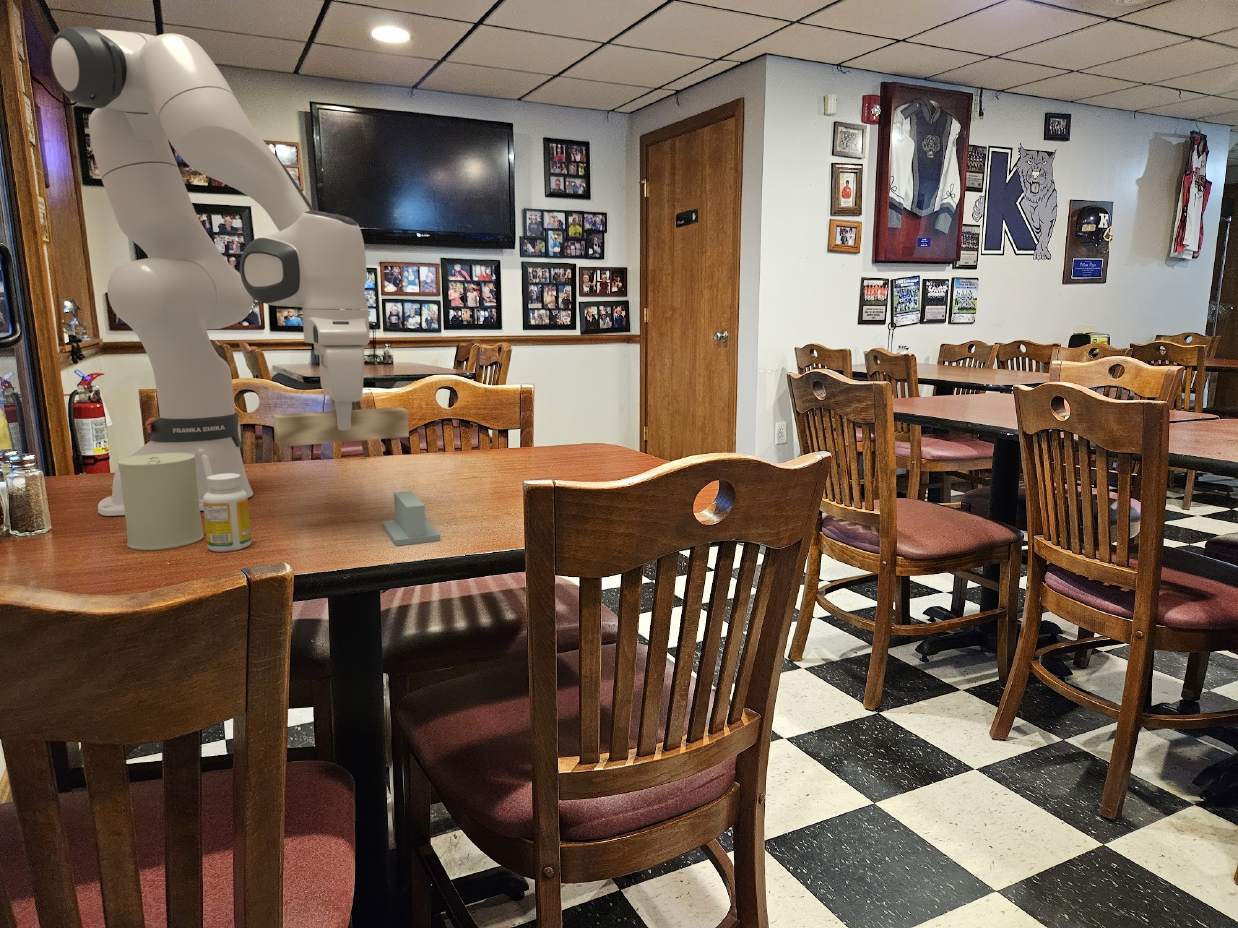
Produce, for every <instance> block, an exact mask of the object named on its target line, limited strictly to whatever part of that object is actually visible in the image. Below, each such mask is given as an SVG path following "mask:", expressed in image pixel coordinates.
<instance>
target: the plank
mask: <svg viewBox="0 0 1238 928" xmlns="http://www.w3.org/2000/svg"><path fill="white" fill-rule="evenodd" d="M336 417H337V414H336V411H332V410H328V411H315V412H314V411H312V412H311V411H310V412H295V413H278V414H273V415H272V418H273V431H274V432H273V433H274V443H275V444H276V445H277V446H278V447H280V448H281V447H283V448H284V447H293V446H294V447H295V446H305V445H307V446H309V445H317V444H319V445H320V444H333V443H344V442H348V443H349V442H359V441H371V440H373V441H374V440H384V439H385V440H386V439H396V438H409V437H410V431H409V411H408V409H405V408H404V407H402V406H397V407H395V406H394V407H380V408H367V409H366V408H364V409H363V408H362V409H352V412H351V429H350V430H339V429H338V428H337V419H336Z"/></svg>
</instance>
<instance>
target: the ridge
mask: <svg viewBox="0 0 1238 928" xmlns="http://www.w3.org/2000/svg"><path fill="white" fill-rule="evenodd" d="M393 498H394V499H393V500H394V513H395V514H394V516H395V517H394V518H395V519H391V520H383V521H382V528H383V530H384V531H385V533H386V534H387V535H388V537H389V538H390V540H391V541H392V543H393V544H394V546H395V547H399V546H406V545H407V546H408V545H413V544H416V545H417V544H421V543H422V544H423V543H432V542H440V541H441V534H440V533H439V532H438V530H437V529H435V527H434V526H433V525H432V524H431V522H429V520H427V518H426V507H425V504H424V503H423V502H422V501H421V500H420V499H419V498H418V496H416V495H415V493H413V491H412V490H407V491H397V492H393Z"/></svg>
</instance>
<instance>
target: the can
mask: <svg viewBox="0 0 1238 928" xmlns="http://www.w3.org/2000/svg"><path fill="white" fill-rule="evenodd" d="M117 466H118V467H119V472H120V479H121V486H122V493H123V501H124V509H125V515H124V516H125V524H126V535H127V536H126V537H127V541H126V542H127V543H126V546H127V547H128V548H129V549H131V550H135V551H160V550H161V551H162V550H170V549H177V548H182V547H185V546H189V545H192V544H193V545H194V544H195V543H198V542H200V541H201V540H203V539H204V538H205V537H204V536H205V534H204V531H203V525H202V517H201V511H200V507H199V497H198V488H197V477H196V466H195V455H194V454H190V453H158V454H147V455H139V456H133V457H131V456H129V457H125V458H121V459H119V460H118V461H117Z"/></svg>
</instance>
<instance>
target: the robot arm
mask: <svg viewBox="0 0 1238 928" xmlns="http://www.w3.org/2000/svg"><path fill="white" fill-rule="evenodd" d="M49 59H50V60H49V61H50V62H49V63H50V67H51V71H52V75H53V77H54V81H55V82H56V84H57V86H58V87H59V88H60V89H61V91H62V92H63V93H64V95H65V96H66V97H67V98H69V100H71V101H73V102H76V103H77V104H79V105H80V104H81V105H83V106H86V107H90V108H93V109H94V110H93V111H92V112H91V114H90V116H89V118H88V130H89V138H90V142H91V148H92V151H93V156H94V160H95V163H96V167H97V171H98V173H99V176H100V178H101V181H102V184H103V186H104V190H105V192H106V195H107V197H108V200H109V203H110V205H111V206H110V207H111V209H112V211H113V213H114V217H115V219H116V221H117V224H118V226H119V229H120V231H122V233H123V234H124V235H125V236H126V238H128V239H129V240H131V241H132V242H133V243H135V244H136V245H137V246H139V248H140V249H141V250H142V251H144V253H145V254H146V256H148V257H147V258H146V257H145V258H142V259H136V260H131V261H127V262H124V263H122V264H120V265H118V266H116V268H115V269H114V270H113V271H112V273H111V275H110V277H109V279H108V283H107V297H108V301H109V304H110V307H111V309H112V310H113V312H114V313H115V315H116V316H117V317H118V318H119V319H120V320H121V321H123V322H124V323H125V324H126V325H127V326H129V327H130V329H132V331H133V332H134V333H135V335H136V336H137V338H138V339H139V341H140V343H141V344H142V346H143V348H144V351H145V353H146V355H147V357H148V359H149V362H150V365H151V368H152V371H153V377H154V382H155V390H156V396H157V403H158V411H159V416H158V417H150V418H147V420H146V422H145V429H146V436H147V440H149V441H148V442H147V443H145V444H144V445H143V446H142V447H140V448H139V449H138V450H137V451H135V453H133V454H132V455H130V457H133V456H139V455H147V454H158V453H190V454H194V455H195V466H196V477H197V488H198V497H199V507H200V512H201V511H204V507H203V497H204V495H205V494H206V493H207V492H209V491H210V489H209V488H208V486H207V477H209V476H212V475H217V474H226V473H234V474H239V475H240V476H241V485H240V486H239V489H242V490H244V491H245V492H246V493H247V495H248V499H249V498H251V497H253V495H254V492H253V490H252V487H251V484H250V482H249V479H248V476H247V474H246V470H245V466H244V461H243V458H242V454H241V448H240V446H241V445H242V444H241V443H242V435H241V434H242V432H241V422H240V419H239V415H238V413H237V412H236V409H235V399H234V398H235V397H234V389H233V387H234V386H233V380H232V378H233V377H232V371H231V367H230V366H229V364H228V362H227V361H226V360H224V359H223V358H222V356H221V357H220V356H219V354H218V353H217V351H216V350H215V348H214V346H213V344H212V342H211V339H210V337H209V334H208V330H218V329H219V330H220V329H224V328H227V327H230V326H232V325H235V324H238V323H239V322H242V321H243V320H245V318H247V316H248V315H249V314H250V312H251V310H252V307H253V303H254V300H255V301H256V302H259V303H261V304H265V305H270V306H277V307H278V306H279V307H280V306H281V307H294V308H295V307H296V308H301V309H302V323H303V324H302V325H303V326H302V327H303V343H305V344H313V351H314V352H313V353H314V355H315V356H319V357H318V358H319V377H320V386H321V389H322V390H323V391H324V392H325V393H326V394H327V395H328V396H329V403H330V409H331V411H336V414H337V417H336V419H337V428H338V429H339V430H350V429H351V412H352V410H353V403H354V402H360V401H362V400H361V399H362V396H363V393H364V392H363V390H364V375H365V374H364V373H365V372H364V371H365V370H364V369H365V347H366V346H368V345H369V343H370V342H371V341H370V340H371V339H370V319H369V317H370V316H369V306H368V302H367V299H366V295H365V294H366V293H365V291H366V290H365V289H366V285H367V280H368V279H367V278H368V274H367V273H368V272H367V258H366V249H365V242H364V238H363V236H364V235H363V234H362V230H361V228H360V226H359V223H358V222H356V221H355V220H354V219H353V218H351V217H348V216H345V215H340V214H335V213H328V212H325V211H324V212H323V211H319V210H315V209H314V208H313V206H312V205H311V203H310V201H309V200H308V199H307V196H306V195H305V194H304V192H303V191H302V189H301V188H300V186H299V184H298V183H297V182H296V181H295V179H294V177H293V176H292V175H291V173H290V171H289V170H288V169H287V167H286V166H285V165H284V164H283V162H282V161H281V160H280V159H279V157H278V156H277V155H276V154H275V153H274V152H273V151H272V149H271V148H270V147H269V146H268V144H267V143H266V142H265V140H264V139H263V138H262V137H261V135H260V134H259V132H258V131H257V130H256V129H255V127H254V125H253V124H252V122H251V121H250V120H249V118H248V116H247V115H246V113H245V112H244V110H243V108H242V107H241V105H240V103H239V101H238V99H237V97H236V96H235V94H234V92H233V90H232V88H231V86H230V85H229V83H228V81H227V79H226V78H225V77H224V76H223V74H222V72H221V71H220V69H219V67H218V66H217V65H216V64H215V62H214V61H213V60H212V59H211V57H210V56H209V54H207V52H206V51H205V50H204V49H203V48H202V46H201V45H200V44H199V43H198V42H197V41H195V40H194V39H192V38H190V37H188V36H186V35H182V34H178V33H174V32H173V33H172V32H171V33H162V34H159V35H153V34H149V33H143V32H139V31H134V30H133V31H124V30H115V29H100V28H99V29H98V28H97V29H95V28H94V27H91V26H81V25H80V26H71V27H70V26H69V27H65V28H62V29H60V30H59V31H58V32H57V33H56V35H55V36H54V38H53V40H52V42H51V45H50V52H49ZM170 145H171V146H170ZM171 147H172V148H173V150H175V151H176V153H177V154H178V155H179V156H180V158H181V159H182V160H183V161H184V162H185V163H186V164H187V165H188V166H189V167H190V168H192V169H193V170H195V171H197V172H198V173H200V174H201V175H204V176H206V177H209V178H211V179H213V180H216V181H218V182H221V183H223V184H224V185H227V186H229V187H231V188H233V189H235V190H237V191H239V192H241V193H242V194H244V195H246V196H248V197H249V198H250V199H252V200H253V201H255V202H256V203H257V204H258V205H260V206H261V208H263V210H264V211H265V212H266V213H267V215H268V216H269V218H270V219H271V221H272V222H273V224H274V225H275V227H276V229H277V230H278V232H276V233H273V234H271V235H267V236H264V237H259V238H255V239H253V240H251V242H249V243H248V245H247V246H246V247H244V250H243V252H242V254H241V257H240V261H239V262H240V263H239V271H238V270H236V269H235V268H234V267H233V266H232V265H231V264H230V263H229V262H228V260H227V259H226V258H225V257H224V255H223V254H222V252H220V250H219V248H218V247H217V246H216V244H215V243H214V241H213V240H212V238H211V237H210V236H209V234H208V232H207V231H206V229H205V228H204V226H203V223H202V222H201V220H200V219H199V217H198V215H197V212H196V210H195V207H194V205H193V203H192V200H191V197H190V195H189V193H188V189H187V187H186V185H185V181H184V180H183V176H182V174H181V171H180V169H179V167H178V163H177V160H176V159H175V156H174V153H173V151H172V148H171ZM364 346H365V347H364ZM111 486H112V488H111V489H112V492H111V494H112V495H109V496H107V497H104V498H103V499H101V500H100V501H99V502H98V504H97V512H98V514H99V515H101V516H106V517H110V516H111V517H112V516H125V509H124V501H123V493H122V486H121V479H120V472H119V466H118V468H117V469H116V470H115V472H114V476H113V480H112V485H111Z"/></svg>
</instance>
